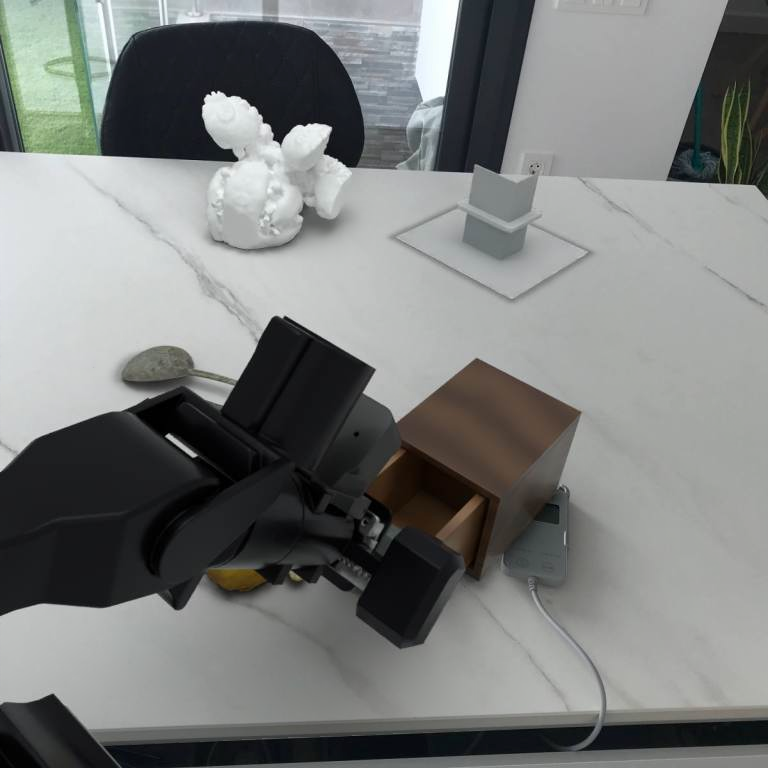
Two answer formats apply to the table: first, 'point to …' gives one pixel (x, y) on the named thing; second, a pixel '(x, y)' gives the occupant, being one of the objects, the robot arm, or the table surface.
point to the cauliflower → (268, 176)
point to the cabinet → (494, 448)
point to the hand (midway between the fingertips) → (371, 528)
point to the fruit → (240, 578)
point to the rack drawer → (429, 504)
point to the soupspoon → (166, 366)
